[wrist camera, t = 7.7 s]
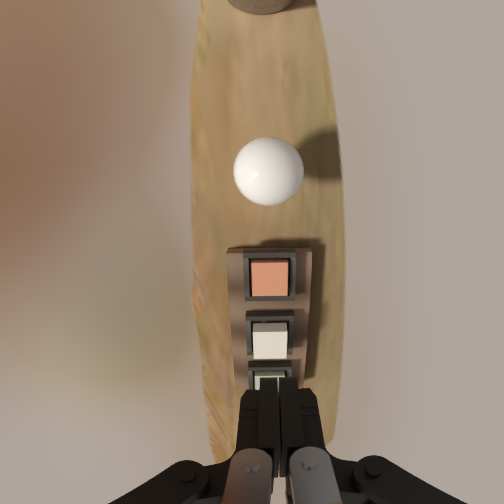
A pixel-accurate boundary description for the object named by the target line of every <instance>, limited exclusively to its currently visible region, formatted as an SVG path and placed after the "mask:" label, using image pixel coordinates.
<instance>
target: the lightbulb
mask: <svg viewBox="0 0 504 504" xmlns="http://www.w3.org/2000/svg"><path fill="white" fill-rule="evenodd" d="M233 174H234V180H235V183H236V185H237V187H238V189H239V191H240V192H241V193H242V194H243V195H244V196H245V197H246V198H247V199H248V200H250V201H252V202H253V203H256V204H259V205H263V206H275V205H279V204H282V203H284V202H286V201H288V200H289V199H291V198H292V197H293V196H294V195H295V194H296V193H297V192H298V190H299V189H300V187H301V185H302V182H303V178H304V166H303V161H302V159H301V156H300V154H299V153H298V151H297V150H296V149H295V148H294V147H293V146H292V145H291V144H290V143H288V142H287V141H285V140H283V139H280V138H277V137H260V138H257V139H254V140H252V141H250V142H249V143H247V144H246V145H245V146H244V147H243V148H242V149H241V150H240V151H239V153H238V155H237V157H236V159H235V162H234V168H233Z"/></svg>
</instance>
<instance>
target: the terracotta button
mask: <svg viewBox="0 0 504 504" xmlns="http://www.w3.org/2000/svg"><path fill="white" fill-rule="evenodd" d="M251 268H252V296H287V291H288V261H287V258H252V262H251Z"/></svg>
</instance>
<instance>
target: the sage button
mask: <svg viewBox="0 0 504 504" xmlns="http://www.w3.org/2000/svg"><path fill="white" fill-rule="evenodd" d="M260 377H278V386H279V377H285V372H284V371H255V390H260Z"/></svg>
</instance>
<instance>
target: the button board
mask: <svg viewBox="0 0 504 504" xmlns="http://www.w3.org/2000/svg"><path fill="white" fill-rule="evenodd" d="M252 258H287V261H288V291H287V296H252V268H251V262H252ZM226 259H227V276H228V292H229V307H230V322H231V336H232V349H233V362H234V374H235V386H236V388H239V389H249V390H255V371H284V372H285V377H297V382H298V388H303V384H304V374H305V363H306V352H307V339H308V325H309V310H310V292H311V271H312V251H311V249H310V247H290V248H228V250H227V253H226ZM253 323H286V324H287V355H286V358H285V359H254V352H253Z"/></svg>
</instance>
